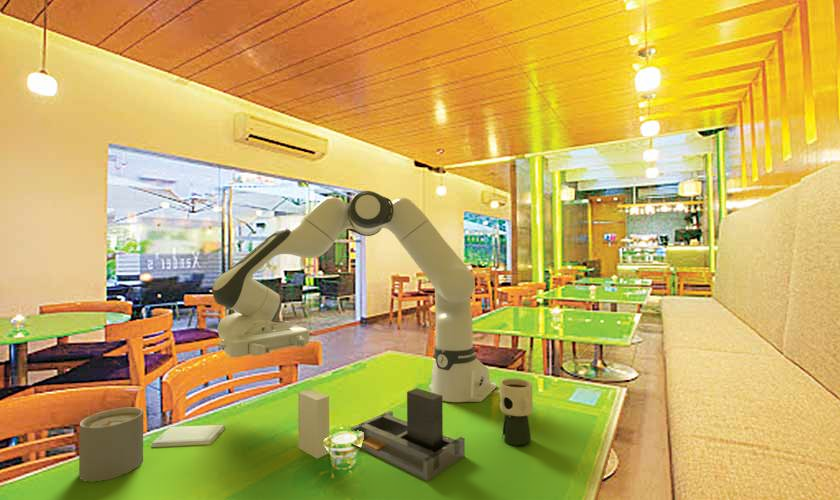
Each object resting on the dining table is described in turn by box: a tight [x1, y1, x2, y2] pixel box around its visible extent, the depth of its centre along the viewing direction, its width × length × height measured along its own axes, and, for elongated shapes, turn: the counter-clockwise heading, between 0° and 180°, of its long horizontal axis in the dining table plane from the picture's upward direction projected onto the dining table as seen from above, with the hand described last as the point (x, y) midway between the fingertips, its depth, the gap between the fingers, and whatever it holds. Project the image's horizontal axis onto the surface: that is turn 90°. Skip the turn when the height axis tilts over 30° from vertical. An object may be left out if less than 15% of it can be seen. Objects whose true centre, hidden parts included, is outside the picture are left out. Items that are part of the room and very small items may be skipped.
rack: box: [350, 387, 466, 482], centre depth 84 cm, size 12×22×13 cm, turn 49°
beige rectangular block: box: [297, 388, 330, 460], centre depth 84 cm, size 3×7×12 cm, turn 49°
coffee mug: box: [78, 406, 144, 482], centre depth 79 cm, size 13×10×10 cm
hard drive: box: [150, 424, 226, 448], centre depth 91 cm, size 2×8×12 cm
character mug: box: [499, 377, 534, 446], centre depth 88 cm, size 11×7×13 cm, turn 14°
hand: (285, 346), depth 92 cm, fingers open, 8 cm apart
